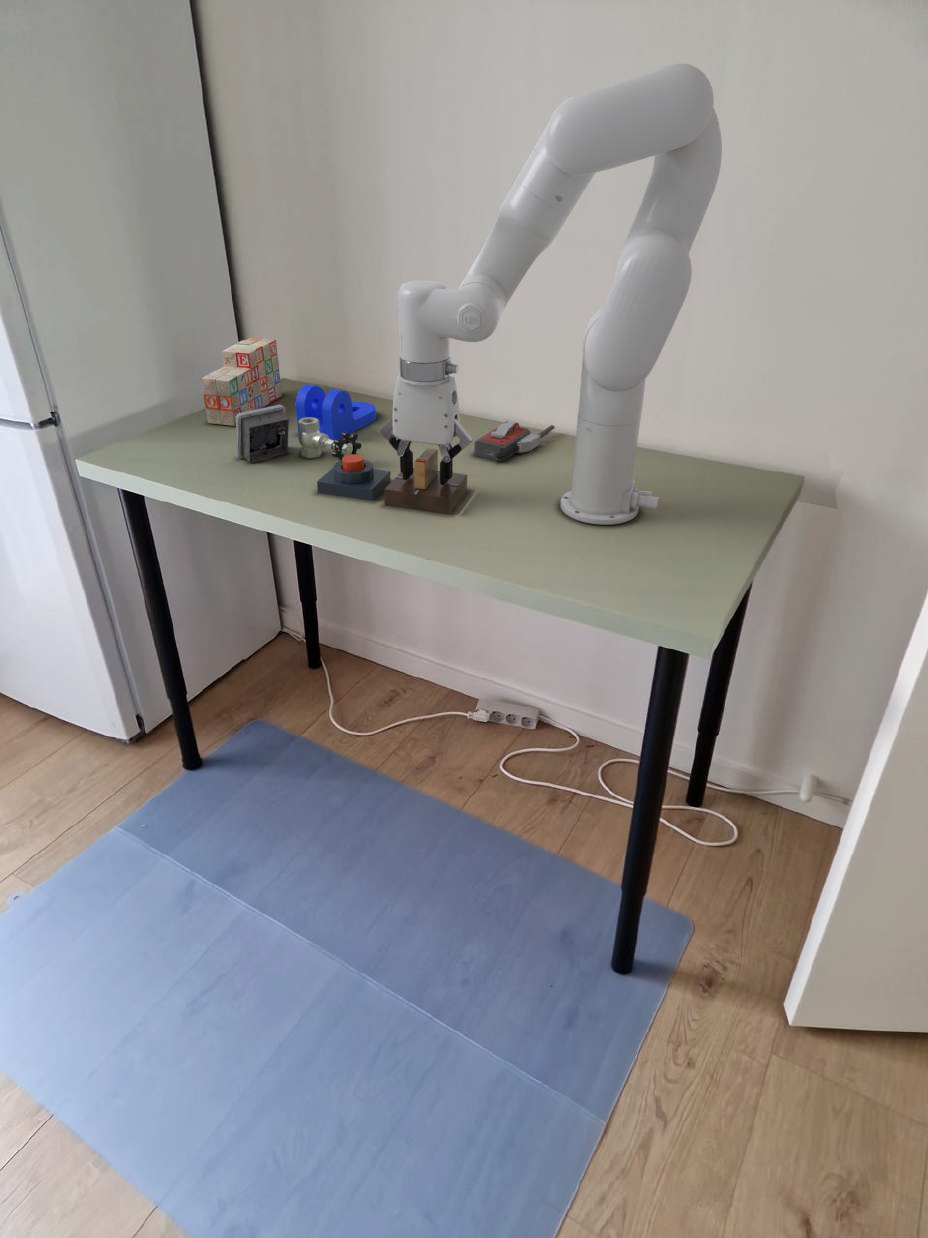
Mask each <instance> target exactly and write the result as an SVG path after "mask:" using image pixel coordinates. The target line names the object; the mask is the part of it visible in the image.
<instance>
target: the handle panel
mask: <svg viewBox="0 0 928 1238" xmlns="http://www.w3.org/2000/svg"><path fill="white" fill-rule="evenodd" d="M467 491H468V474H465V473H457V472H453V474H452V478H451V479H449V480H448V482H447V483H446V484H445V485H441V484H440V470H438V475H437V476H436V477H435V478H434V480H433V481H432V482H431V483H430V484H429V485H428V487H427V488H426V489H418V488H415V476H414V467H413V474H412V475H411V476H410V478H409V479H407V480H403V473H402V472H401V471H400V472H399V473H398V474H397V475H396V476H395V477H394V478H393V480H392V481H391V483H390V484H389V485H388V486H387V487H386V488H385V489H384V490H383V492H384V506H385V507H393V508H399V509H407V510H413V511H419V512H420V511H421V512H427V513H433V514H434V513H435V514H441V515H448V516H449V515H450V514H451V513H452V511H453V510H454V509H455V508H456V506H457V505H458V504H459V502H460V501H461V499H463V497H464V496H465V494H466V493H467Z"/></svg>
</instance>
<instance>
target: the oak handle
mask: <svg viewBox="0 0 928 1238" xmlns="http://www.w3.org/2000/svg"><path fill="white" fill-rule="evenodd" d="M438 449H439V448H432V447H431V448H430V447H427V448H426V449H425V450H424V451H423V452H422V453H421V455H419V456H418V457H416V459H415V461H413V468H414V476H415V488H418V489H426V488H427V487H428V485H429V484H430V483H431V482H432V481H433V480H434V478H435V477H436V476H437V475H438V471H439V450H438Z"/></svg>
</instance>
